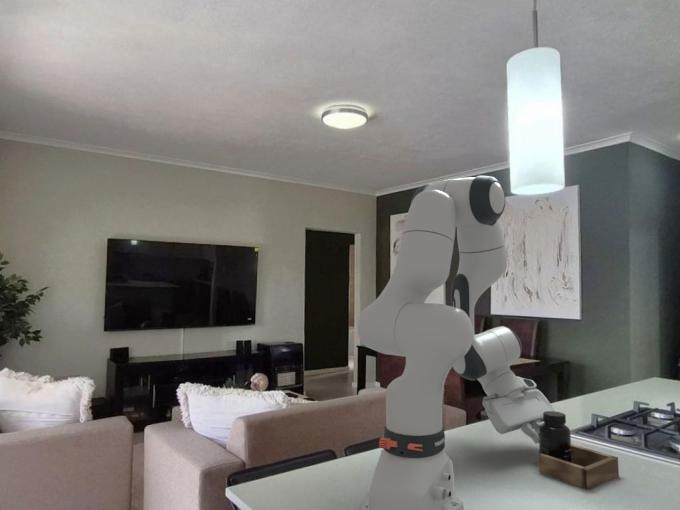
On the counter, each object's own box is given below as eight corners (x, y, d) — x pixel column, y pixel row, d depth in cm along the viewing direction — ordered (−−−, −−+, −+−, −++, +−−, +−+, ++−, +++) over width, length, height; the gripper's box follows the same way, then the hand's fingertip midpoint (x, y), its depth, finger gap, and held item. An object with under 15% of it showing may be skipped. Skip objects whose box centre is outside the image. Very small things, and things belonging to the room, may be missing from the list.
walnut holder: (539, 472, 110) (538, 454, 110) (570, 460, 117) (569, 443, 117) (587, 490, 101) (587, 470, 101) (618, 475, 108) (617, 457, 108)
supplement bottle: (575, 472, 109) (573, 418, 110) (542, 470, 111) (541, 417, 111) (567, 461, 116) (566, 410, 117) (536, 459, 118) (535, 408, 118)
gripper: (486, 390, 117) (523, 443, 109) (537, 379, 129) (574, 426, 120) (472, 405, 121) (506, 457, 112) (522, 393, 132) (557, 439, 124)
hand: (541, 441), depth 116 cm, fingers closed
